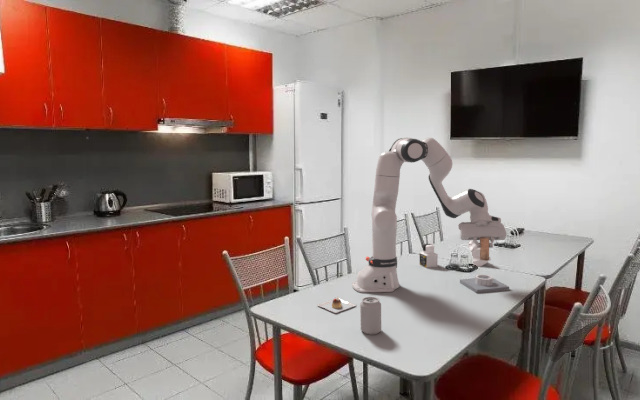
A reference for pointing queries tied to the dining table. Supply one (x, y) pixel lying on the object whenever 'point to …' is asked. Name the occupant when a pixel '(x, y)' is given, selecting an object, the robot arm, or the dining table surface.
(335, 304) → the dessert
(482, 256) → the copper tube
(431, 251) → the medicine bottle
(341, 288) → the dining table surface
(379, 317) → the can
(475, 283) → the collar plate
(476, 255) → the soft serve ice cream
